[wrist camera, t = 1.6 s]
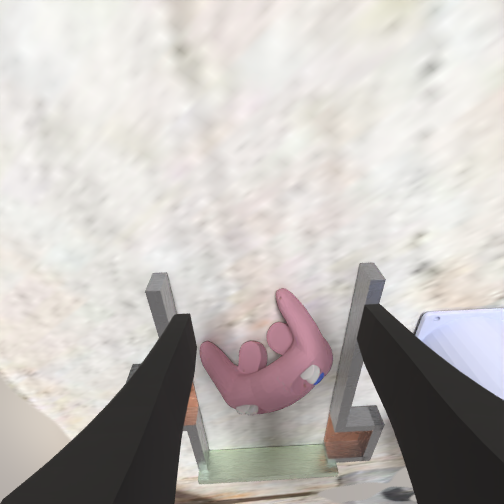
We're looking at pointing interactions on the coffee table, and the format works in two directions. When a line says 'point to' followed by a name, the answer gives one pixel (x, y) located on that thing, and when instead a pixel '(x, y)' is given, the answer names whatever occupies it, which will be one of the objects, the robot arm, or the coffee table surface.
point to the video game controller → (277, 373)
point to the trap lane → (289, 457)
